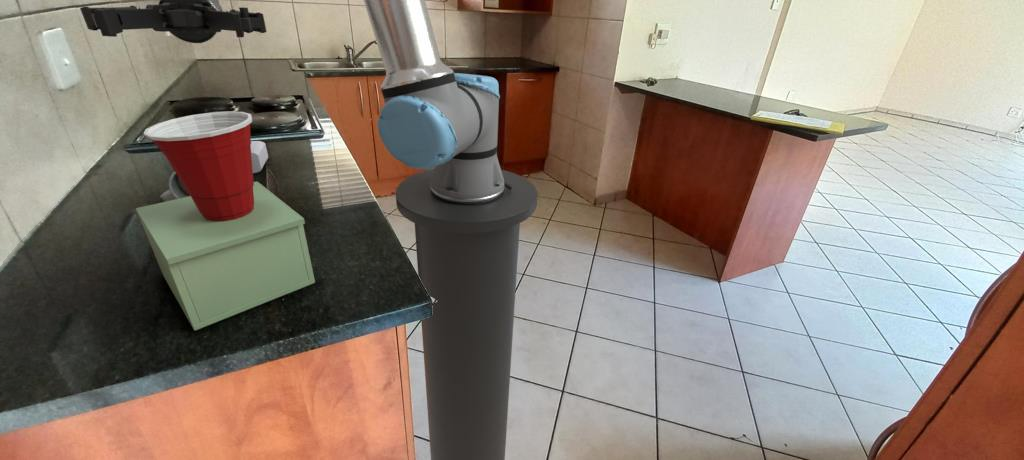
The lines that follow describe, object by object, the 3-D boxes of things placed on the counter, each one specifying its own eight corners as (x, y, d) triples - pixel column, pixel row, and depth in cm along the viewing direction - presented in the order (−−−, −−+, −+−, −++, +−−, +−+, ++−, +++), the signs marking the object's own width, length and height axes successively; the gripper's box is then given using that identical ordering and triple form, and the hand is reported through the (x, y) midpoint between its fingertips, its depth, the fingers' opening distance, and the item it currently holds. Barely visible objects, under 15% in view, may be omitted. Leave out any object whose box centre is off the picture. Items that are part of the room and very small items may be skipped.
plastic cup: (190, 199, 58) (159, 110, 52) (278, 191, 61) (258, 107, 56) (163, 236, 49) (123, 134, 43) (268, 225, 53) (243, 130, 47)
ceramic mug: (232, 188, 87) (221, 151, 83) (223, 204, 80) (211, 165, 77) (171, 193, 84) (157, 156, 80) (156, 211, 77) (140, 171, 73)
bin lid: (305, 223, 55) (304, 218, 55) (168, 265, 46) (166, 259, 45) (258, 186, 65) (257, 181, 64) (137, 213, 55) (135, 208, 55)
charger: (273, 151, 108) (262, 172, 95) (232, 153, 105) (214, 175, 93) (269, 133, 105) (257, 152, 93) (226, 134, 103) (208, 154, 90)
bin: (315, 282, 60) (302, 221, 56) (194, 331, 51) (166, 262, 46) (272, 241, 69) (258, 186, 65) (163, 276, 60) (137, 214, 55)
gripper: (282, 41, 76) (291, 56, 60) (100, 40, 65) (51, 58, 49) (273, -7, 72) (280, -5, 56) (78, -16, 61) (17, -18, 45)
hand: (173, 24), depth 52 cm, fingers open, 13 cm apart
